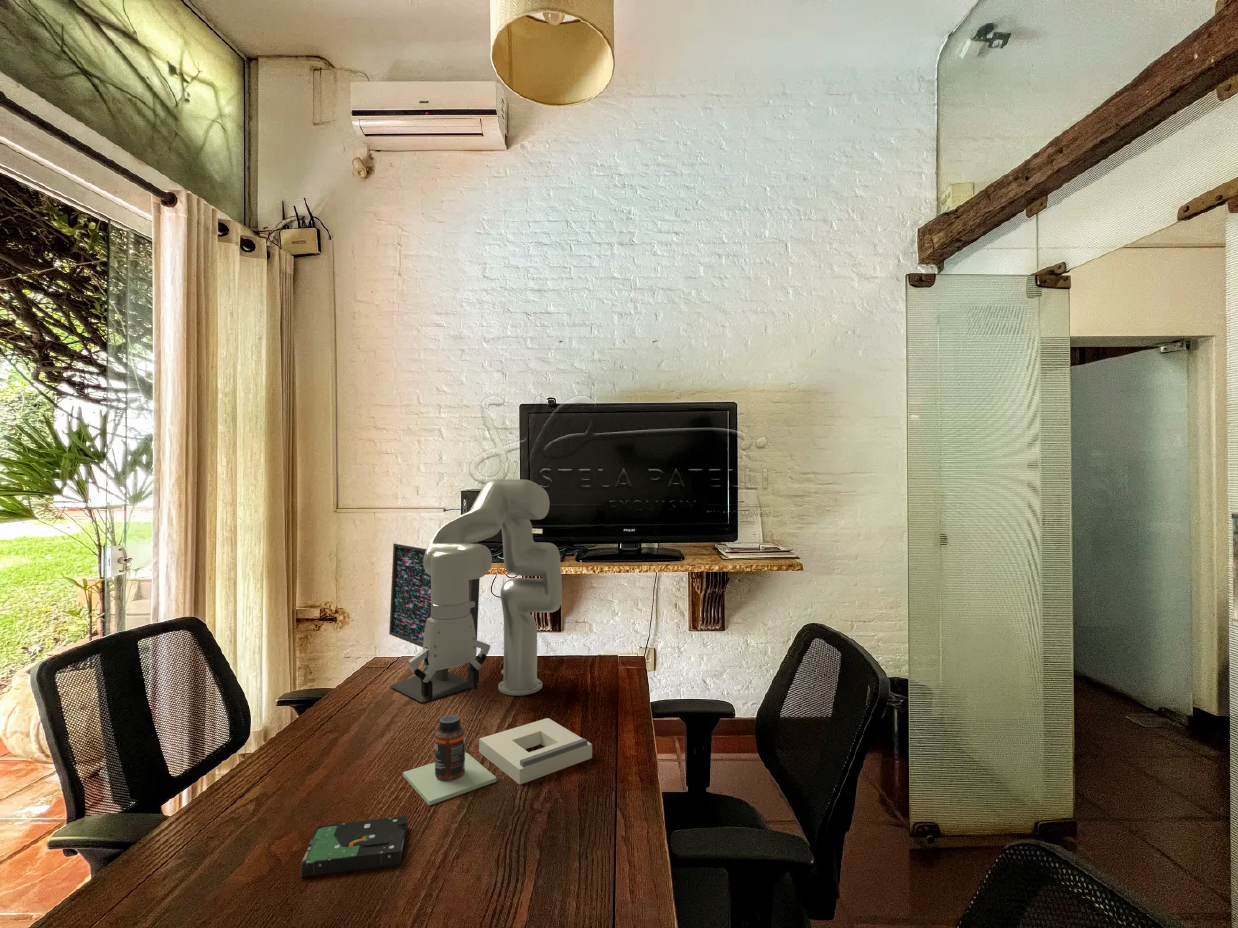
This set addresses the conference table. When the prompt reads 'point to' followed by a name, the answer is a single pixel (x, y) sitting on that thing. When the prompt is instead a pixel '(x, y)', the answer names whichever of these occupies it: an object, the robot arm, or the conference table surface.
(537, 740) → the dispenser block
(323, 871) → the disk drive
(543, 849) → the conference table surface
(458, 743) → the supplement bottle
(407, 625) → the computer monitor
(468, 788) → the sage mat
